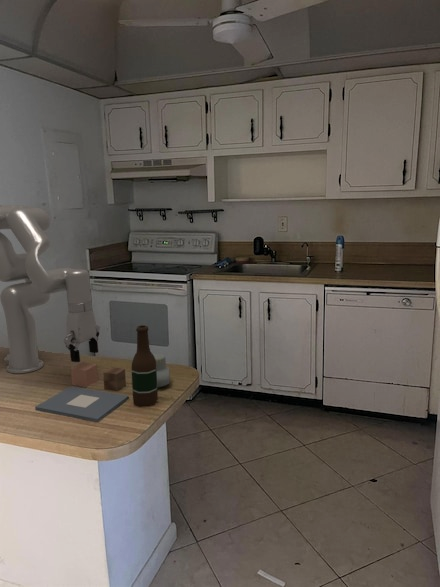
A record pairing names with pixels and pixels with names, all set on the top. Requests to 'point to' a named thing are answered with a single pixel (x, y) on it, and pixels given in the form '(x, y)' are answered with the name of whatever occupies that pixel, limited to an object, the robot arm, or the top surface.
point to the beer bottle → (144, 371)
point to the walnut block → (114, 379)
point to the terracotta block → (84, 374)
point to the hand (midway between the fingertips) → (85, 356)
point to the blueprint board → (82, 403)
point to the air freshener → (162, 370)
